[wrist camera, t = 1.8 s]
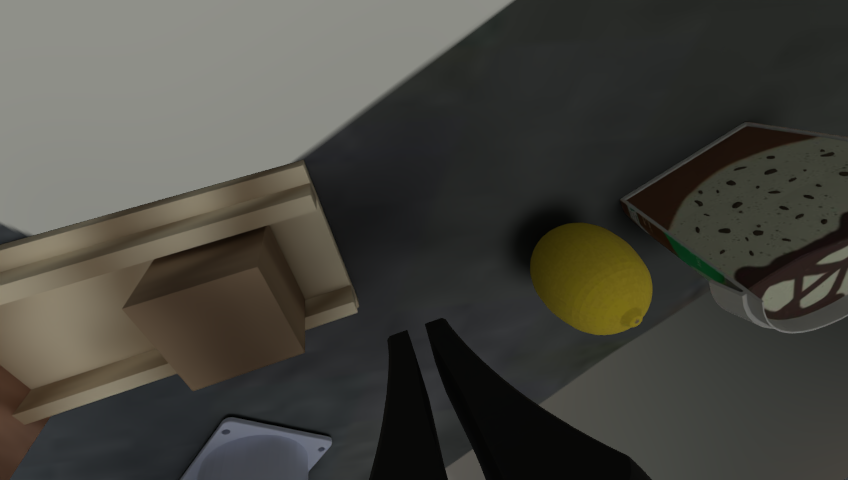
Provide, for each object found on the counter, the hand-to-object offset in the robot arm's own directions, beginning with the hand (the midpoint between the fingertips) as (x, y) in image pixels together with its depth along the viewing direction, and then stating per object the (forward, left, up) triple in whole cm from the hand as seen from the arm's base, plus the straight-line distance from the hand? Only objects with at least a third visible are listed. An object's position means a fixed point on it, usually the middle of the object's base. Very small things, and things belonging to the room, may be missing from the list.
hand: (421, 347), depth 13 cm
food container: (+13, -17, -10) cm, 23 cm away
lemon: (+5, -10, -10) cm, 15 cm away
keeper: (-6, +5, -8) cm, 11 cm away
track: (-9, +8, -9) cm, 15 cm away
